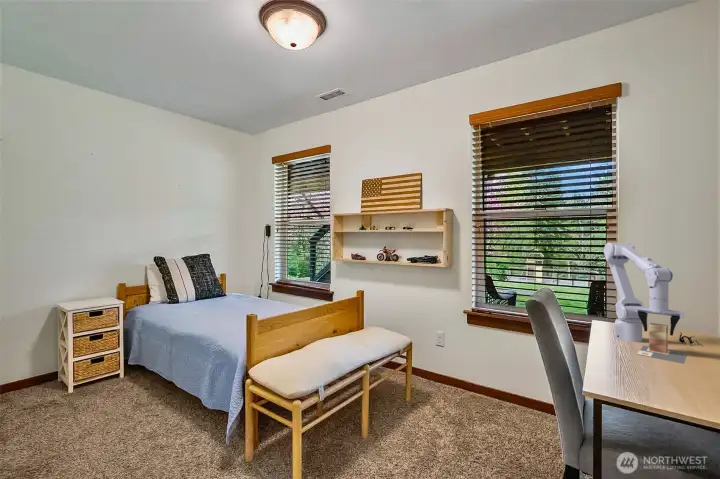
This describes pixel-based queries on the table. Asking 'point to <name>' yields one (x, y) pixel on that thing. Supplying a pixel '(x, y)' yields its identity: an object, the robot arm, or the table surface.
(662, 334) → the maple block
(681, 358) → the build board
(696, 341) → the creature
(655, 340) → the rust block
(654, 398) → the table surface
